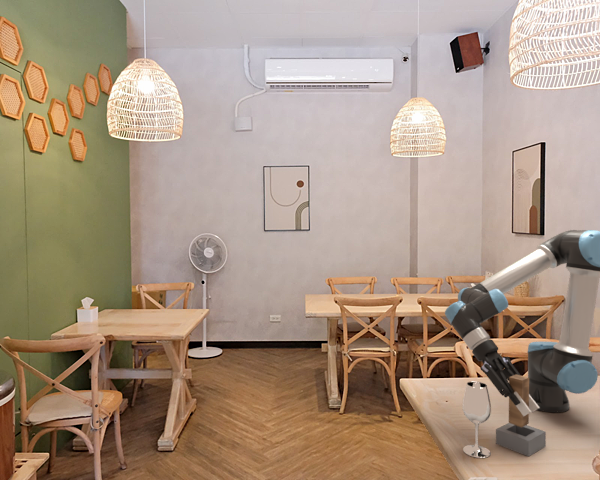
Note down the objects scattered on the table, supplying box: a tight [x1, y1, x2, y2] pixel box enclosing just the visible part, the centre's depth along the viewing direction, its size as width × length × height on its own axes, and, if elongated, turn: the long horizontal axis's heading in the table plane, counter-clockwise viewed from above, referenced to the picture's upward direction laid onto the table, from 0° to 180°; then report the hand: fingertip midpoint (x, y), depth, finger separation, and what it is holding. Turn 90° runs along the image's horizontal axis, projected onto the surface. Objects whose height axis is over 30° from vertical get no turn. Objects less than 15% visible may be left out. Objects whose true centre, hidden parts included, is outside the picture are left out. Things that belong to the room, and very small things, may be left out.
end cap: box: [495, 422, 547, 457], centre depth 140 cm, size 10×10×4 cm
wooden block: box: [508, 374, 530, 427], centre depth 140 cm, size 4×4×14 cm
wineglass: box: [462, 380, 492, 459], centre depth 136 cm, size 8×8×20 cm
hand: (531, 411), depth 137 cm, fingers closed on wooden block, 4 cm apart
